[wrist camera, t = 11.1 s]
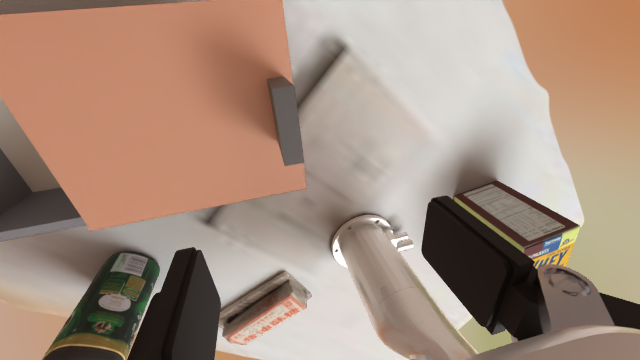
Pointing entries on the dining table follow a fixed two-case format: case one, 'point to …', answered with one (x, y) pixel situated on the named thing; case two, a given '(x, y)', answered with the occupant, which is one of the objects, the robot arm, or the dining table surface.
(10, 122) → the carton
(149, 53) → the lid
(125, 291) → the coffee jar
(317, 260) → the dining table surface
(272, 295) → the packaged product
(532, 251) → the protein box
